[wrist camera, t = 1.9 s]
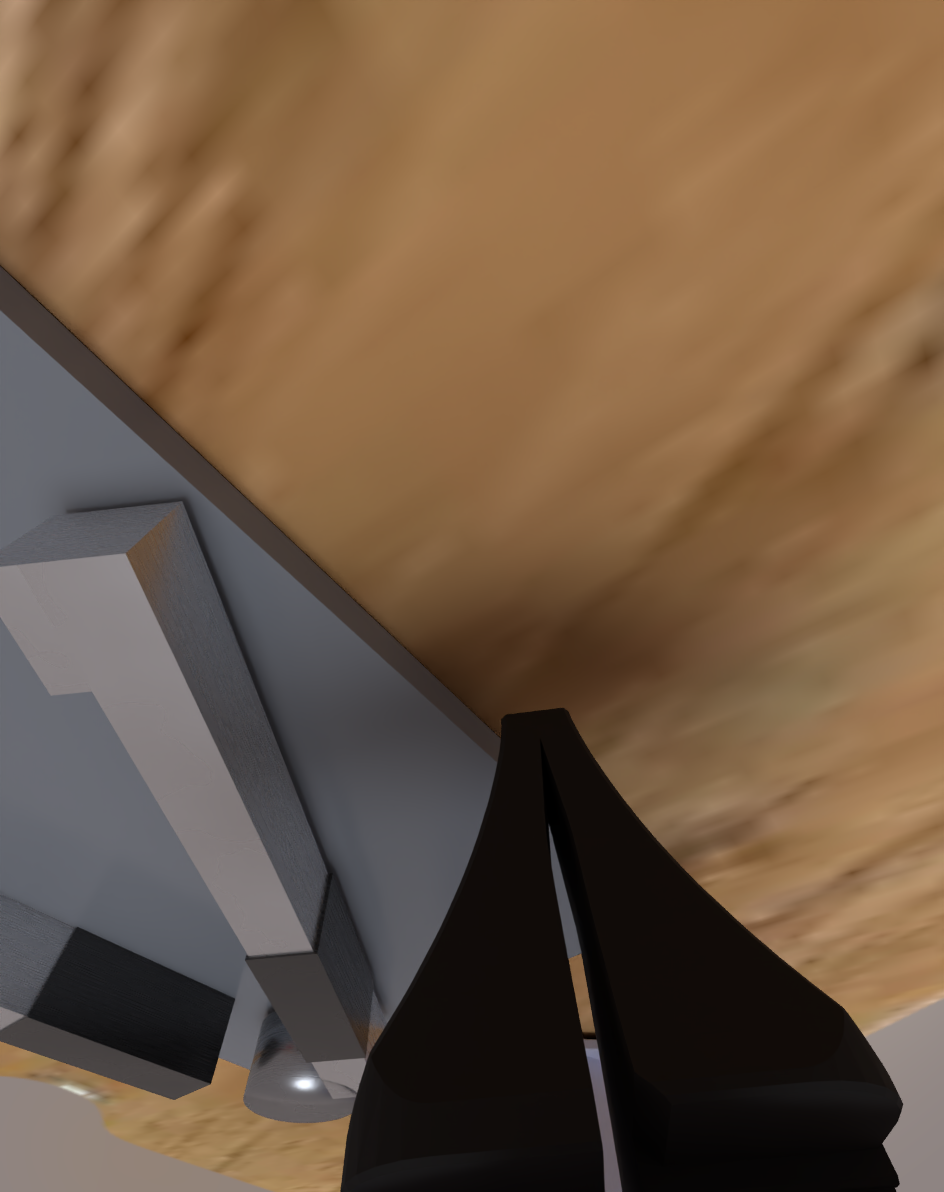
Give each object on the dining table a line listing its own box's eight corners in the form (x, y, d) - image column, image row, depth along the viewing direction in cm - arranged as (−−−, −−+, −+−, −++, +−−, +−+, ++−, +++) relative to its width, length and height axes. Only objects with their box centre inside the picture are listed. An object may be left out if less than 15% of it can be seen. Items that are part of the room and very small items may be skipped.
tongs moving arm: (398, 1044, 21) (394, 1117, 19) (278, 1055, 21) (262, 1128, 20) (189, 499, 10) (130, 554, 8) (-68, 527, 10) (-181, 587, 8)
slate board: (657, 887, 19) (667, 917, 18) (281, 1050, 24) (274, 1079, 23) (-181, 95, 8) (-258, 76, 7) (-525, 708, 13) (-592, 739, 12)
